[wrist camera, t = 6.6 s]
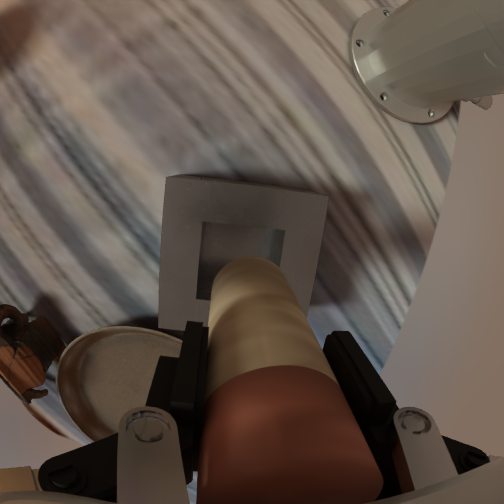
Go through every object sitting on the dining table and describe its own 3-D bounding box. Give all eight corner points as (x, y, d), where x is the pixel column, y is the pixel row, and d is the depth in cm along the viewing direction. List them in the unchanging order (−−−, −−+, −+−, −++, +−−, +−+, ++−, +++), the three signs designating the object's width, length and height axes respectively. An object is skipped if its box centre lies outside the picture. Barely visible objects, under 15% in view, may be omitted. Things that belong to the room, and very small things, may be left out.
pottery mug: (87, 374, 31) (46, 423, 24) (44, 348, 34) (7, 388, 27) (40, 290, 25) (-19, 344, 18) (3, 274, 28) (-45, 315, 21)
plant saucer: (44, 312, 28) (29, 326, 25) (234, 307, 30) (236, 324, 26) (96, 443, 34) (90, 460, 30) (245, 447, 35) (247, 466, 32)
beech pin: (294, 260, 16) (414, 447, 5) (281, 329, 17) (347, 531, 6) (215, 252, 16) (197, 462, 4) (208, 323, 17) (196, 540, 5)
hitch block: (307, 189, 27) (329, 196, 21) (287, 307, 30) (301, 339, 24) (178, 174, 26) (166, 176, 20) (170, 296, 28) (158, 327, 23)
